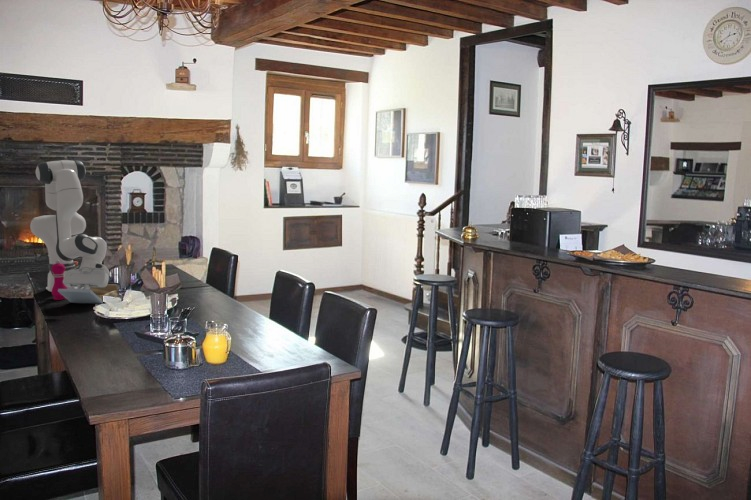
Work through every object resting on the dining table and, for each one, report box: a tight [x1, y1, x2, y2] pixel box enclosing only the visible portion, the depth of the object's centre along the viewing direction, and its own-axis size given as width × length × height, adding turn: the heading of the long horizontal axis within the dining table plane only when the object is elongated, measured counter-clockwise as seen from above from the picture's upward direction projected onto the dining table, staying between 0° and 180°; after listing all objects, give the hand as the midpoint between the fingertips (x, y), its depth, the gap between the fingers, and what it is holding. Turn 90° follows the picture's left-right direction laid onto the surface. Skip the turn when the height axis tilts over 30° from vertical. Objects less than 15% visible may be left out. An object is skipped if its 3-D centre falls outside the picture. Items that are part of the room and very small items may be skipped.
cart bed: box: [89, 283, 119, 301], centre depth 315 cm, size 14×15×7 cm
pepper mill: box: [51, 260, 68, 301], centre depth 315 cm, size 7×7×20 cm
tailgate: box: [58, 288, 104, 304], centre depth 302 cm, size 1×16×14 cm
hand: (80, 294), depth 301 cm, fingers closed, pressing on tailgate
